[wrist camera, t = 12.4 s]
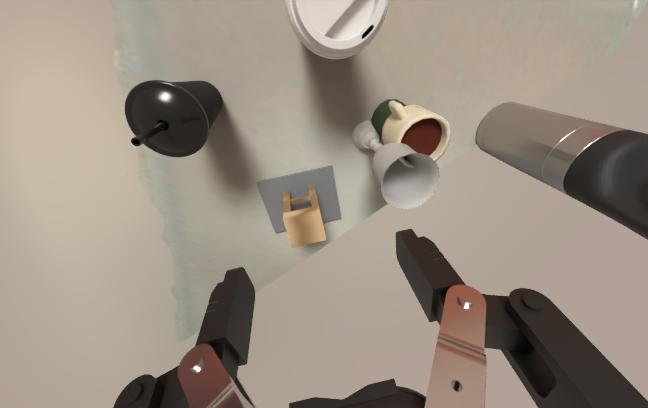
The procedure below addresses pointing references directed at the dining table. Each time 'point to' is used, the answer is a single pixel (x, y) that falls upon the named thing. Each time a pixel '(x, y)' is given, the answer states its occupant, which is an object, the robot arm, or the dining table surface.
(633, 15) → the dining table surface
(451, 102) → the dining table surface
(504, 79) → the dining table surface
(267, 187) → the mat
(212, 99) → the drinking cup
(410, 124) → the character mug
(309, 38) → the coffee cup
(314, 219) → the light wood stool
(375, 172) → the chalice
